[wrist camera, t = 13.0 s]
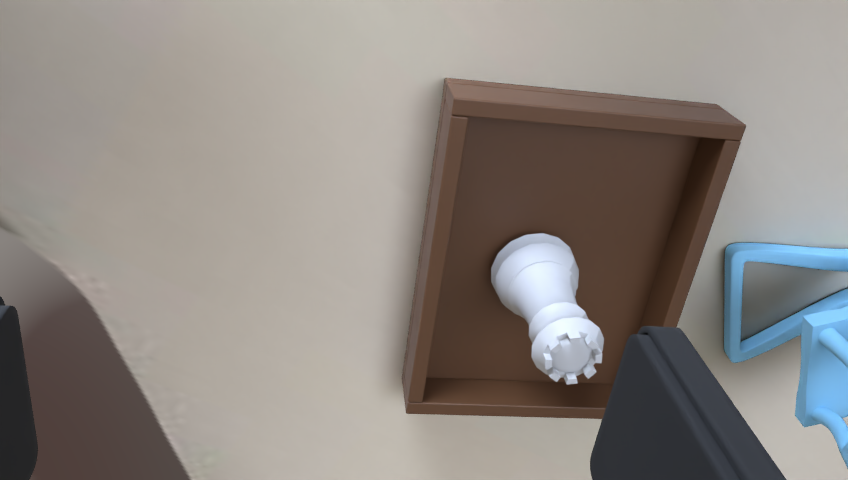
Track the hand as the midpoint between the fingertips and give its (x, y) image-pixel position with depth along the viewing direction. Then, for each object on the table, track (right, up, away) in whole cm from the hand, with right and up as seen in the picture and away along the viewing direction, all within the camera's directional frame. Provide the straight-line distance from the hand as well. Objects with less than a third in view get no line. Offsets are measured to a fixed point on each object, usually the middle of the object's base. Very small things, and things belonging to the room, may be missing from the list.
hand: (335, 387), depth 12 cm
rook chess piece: (+7, +1, +27) cm, 28 cm away
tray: (+8, +2, +28) cm, 29 cm away
